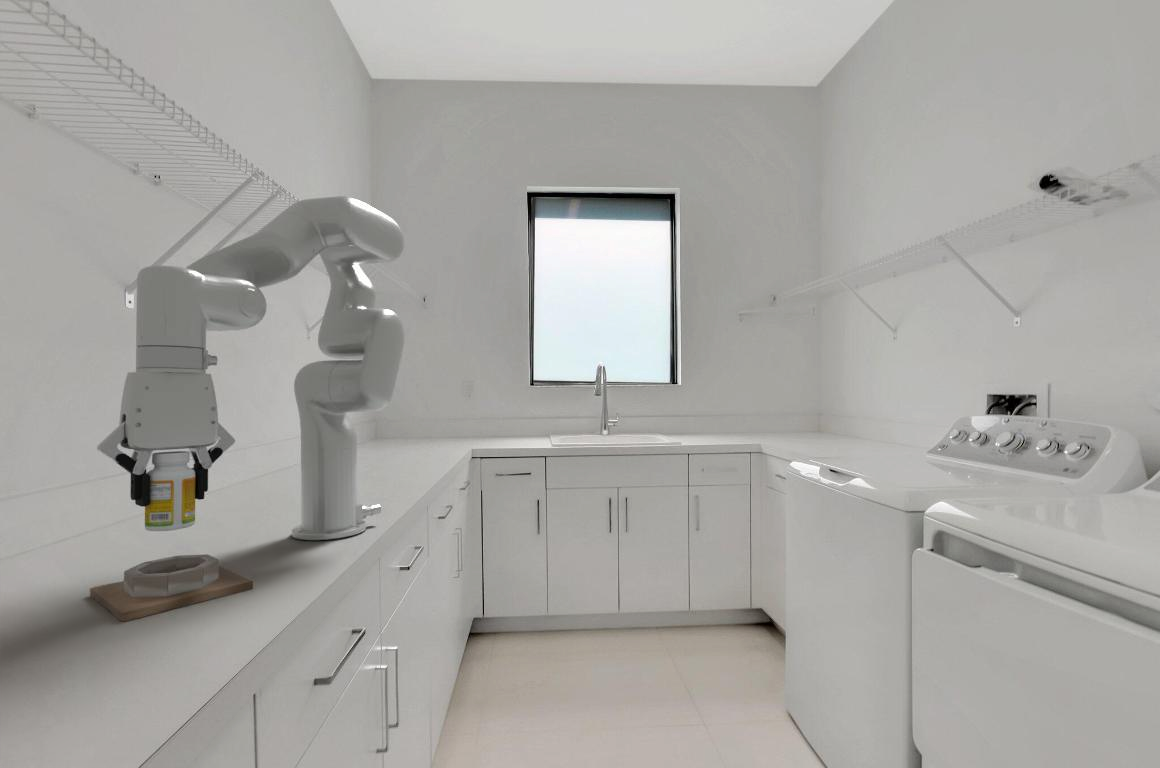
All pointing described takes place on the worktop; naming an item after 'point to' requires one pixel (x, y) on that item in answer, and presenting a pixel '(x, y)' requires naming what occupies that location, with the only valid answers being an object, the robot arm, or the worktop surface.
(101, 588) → the ring socket
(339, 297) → the robot arm
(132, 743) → the worktop surface
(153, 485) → the supplement bottle
